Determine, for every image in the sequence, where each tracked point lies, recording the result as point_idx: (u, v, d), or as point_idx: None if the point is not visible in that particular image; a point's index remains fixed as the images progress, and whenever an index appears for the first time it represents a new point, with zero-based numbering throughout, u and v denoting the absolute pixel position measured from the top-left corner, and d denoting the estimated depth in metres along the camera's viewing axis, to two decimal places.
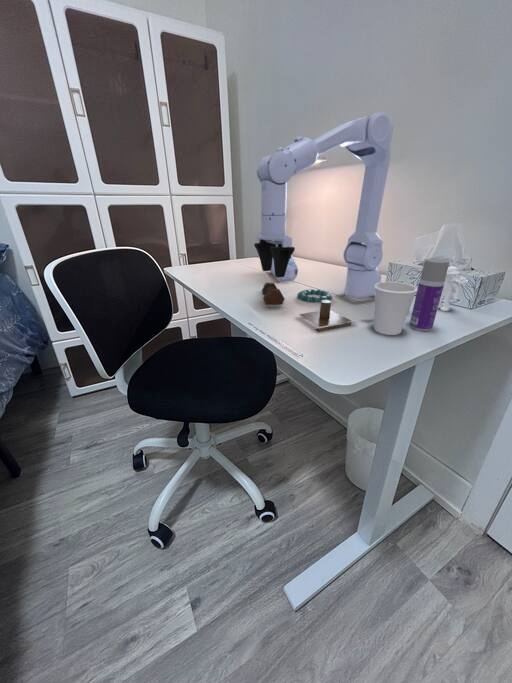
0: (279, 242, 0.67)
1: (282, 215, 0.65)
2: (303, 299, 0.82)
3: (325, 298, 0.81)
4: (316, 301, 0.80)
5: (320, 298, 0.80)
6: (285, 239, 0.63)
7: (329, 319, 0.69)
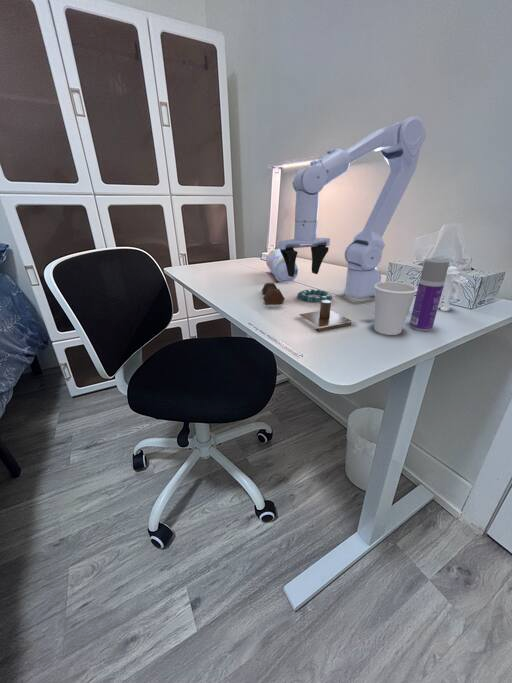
0: None
1: (298, 222, 0.72)
2: (303, 299, 0.82)
3: (325, 298, 0.81)
4: (316, 301, 0.80)
5: (320, 298, 0.80)
6: (279, 242, 0.74)
7: (329, 319, 0.69)
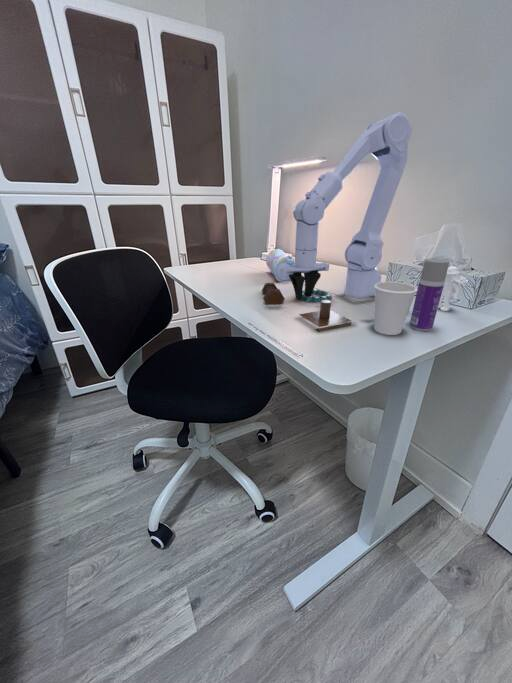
0: None
1: (299, 250, 0.76)
2: (303, 299, 0.82)
3: (325, 298, 0.81)
4: (316, 301, 0.80)
5: (319, 298, 0.80)
6: (280, 268, 0.77)
7: (329, 319, 0.69)
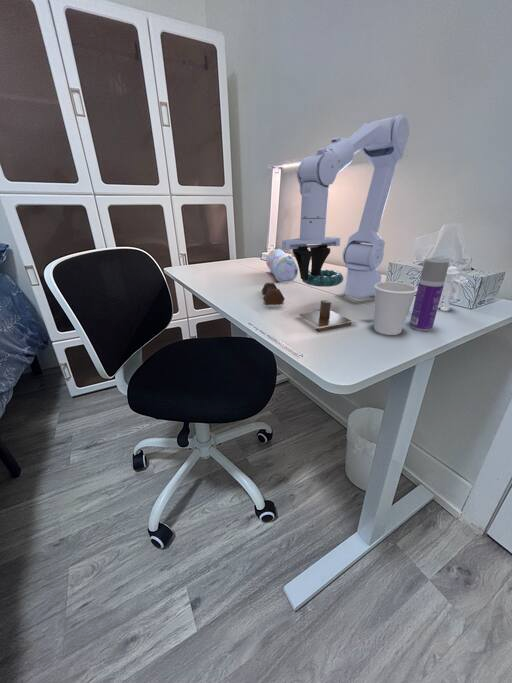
0: None
1: (305, 218, 0.63)
2: (309, 279, 0.69)
3: (335, 278, 0.68)
4: (324, 281, 0.68)
5: (329, 277, 0.68)
6: (282, 241, 0.65)
7: (329, 319, 0.69)
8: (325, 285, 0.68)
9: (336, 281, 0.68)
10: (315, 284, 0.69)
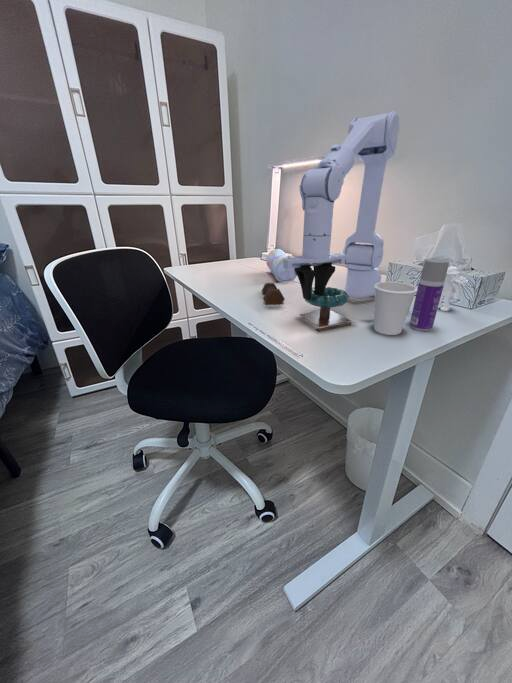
0: None
1: (308, 236, 0.59)
2: (312, 299, 0.64)
3: (341, 298, 0.64)
4: (329, 302, 0.63)
5: (334, 298, 0.63)
6: (284, 260, 0.60)
7: (329, 319, 0.69)
8: (329, 306, 0.64)
9: (341, 301, 0.64)
10: (319, 305, 0.64)
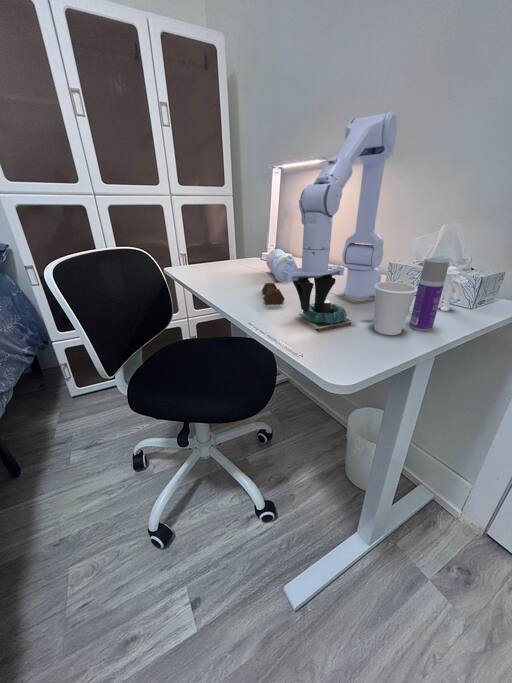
0: None
1: (307, 249, 0.60)
2: (310, 316, 0.66)
3: (338, 315, 0.65)
4: (327, 319, 0.65)
5: (331, 315, 0.65)
6: (283, 272, 0.61)
7: None
8: (327, 323, 0.65)
9: (339, 319, 0.65)
10: (317, 321, 0.66)
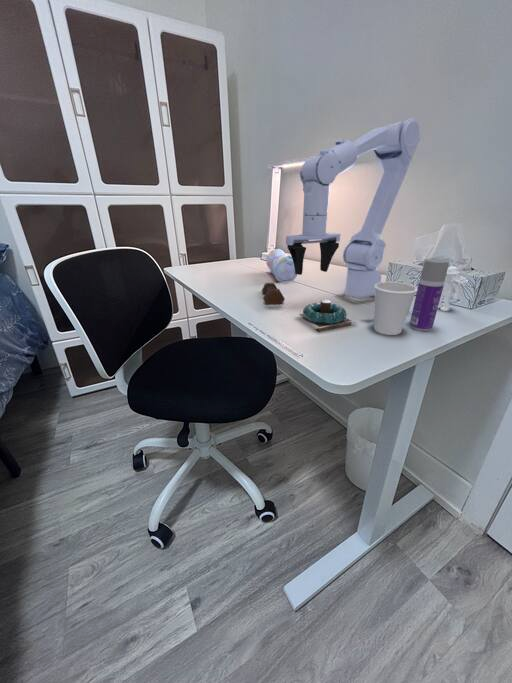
0: None
1: (307, 215, 0.67)
2: (310, 316, 0.66)
3: (338, 315, 0.65)
4: (327, 319, 0.65)
5: (331, 315, 0.65)
6: (286, 237, 0.69)
7: None
8: (327, 323, 0.65)
9: (339, 319, 0.65)
10: (317, 321, 0.66)
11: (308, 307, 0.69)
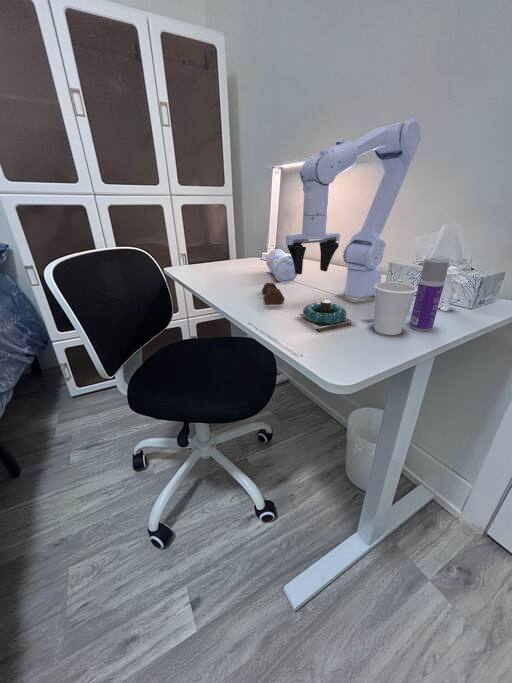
0: None
1: (307, 215, 0.68)
2: (310, 316, 0.66)
3: (338, 315, 0.65)
4: (327, 319, 0.65)
5: (331, 315, 0.65)
6: (286, 237, 0.69)
7: None
8: (327, 323, 0.65)
9: (339, 319, 0.65)
10: (317, 321, 0.66)
11: (308, 307, 0.69)
